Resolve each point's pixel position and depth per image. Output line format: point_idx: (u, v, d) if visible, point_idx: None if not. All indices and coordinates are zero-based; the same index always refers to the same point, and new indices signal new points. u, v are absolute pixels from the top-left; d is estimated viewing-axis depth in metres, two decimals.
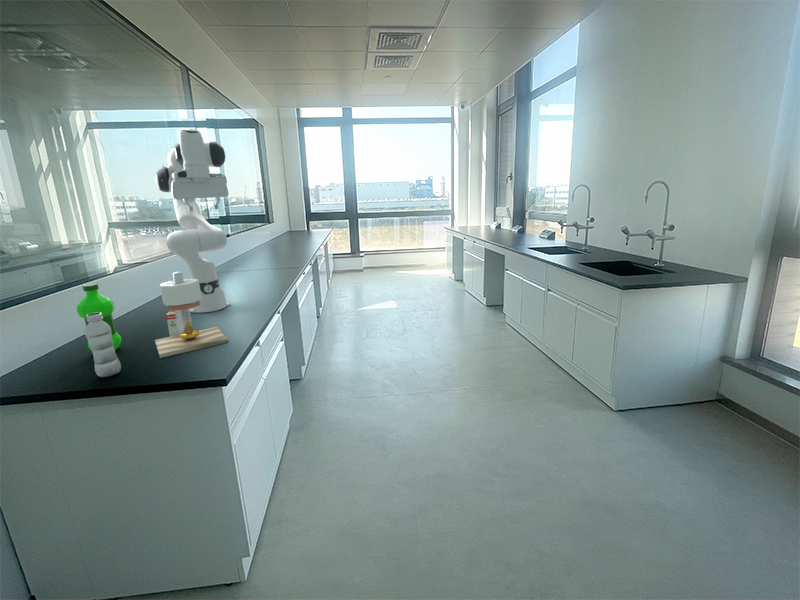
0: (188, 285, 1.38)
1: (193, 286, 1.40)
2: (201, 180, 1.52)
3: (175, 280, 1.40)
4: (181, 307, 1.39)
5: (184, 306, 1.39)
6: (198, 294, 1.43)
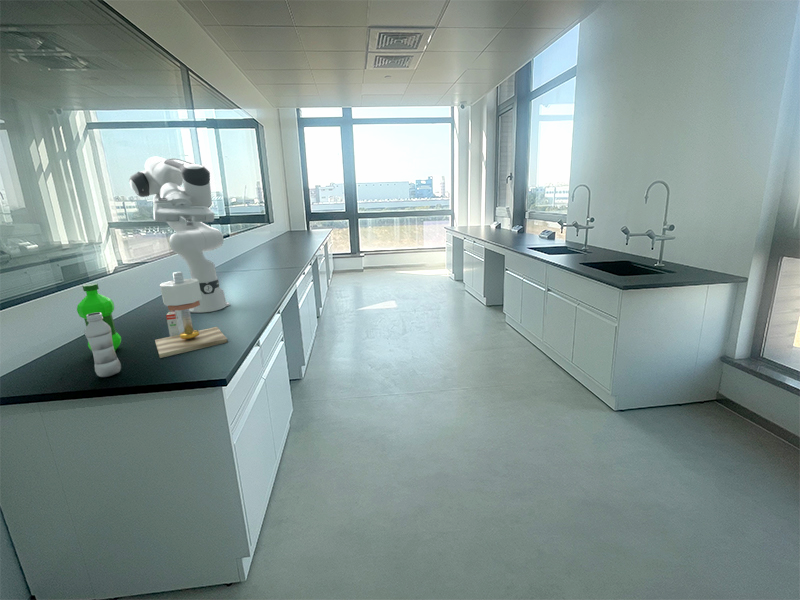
0: (188, 285, 1.38)
1: (193, 286, 1.40)
2: (183, 202, 1.48)
3: (175, 280, 1.40)
4: (181, 307, 1.39)
5: (184, 306, 1.39)
6: (198, 294, 1.43)
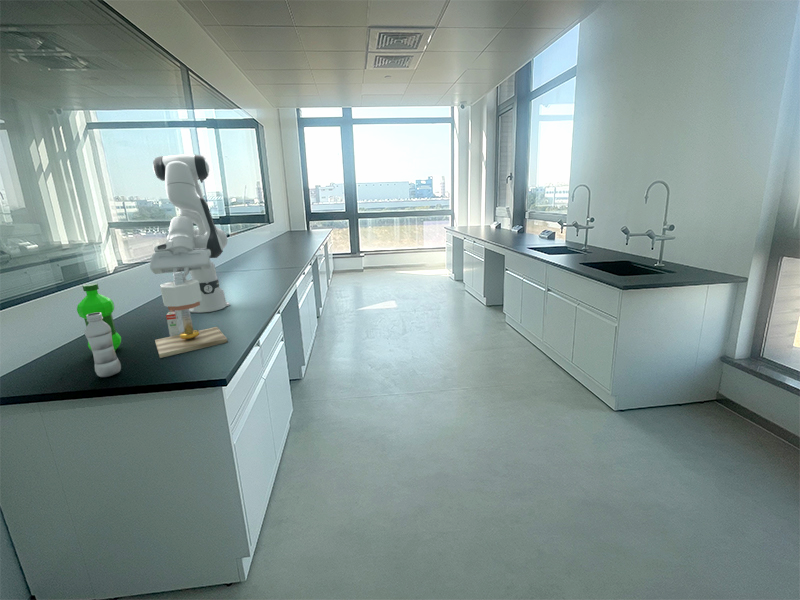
0: (188, 286, 1.38)
1: (193, 287, 1.40)
2: (180, 250, 1.48)
3: (175, 280, 1.40)
4: (181, 307, 1.39)
5: (184, 306, 1.39)
6: (198, 295, 1.43)
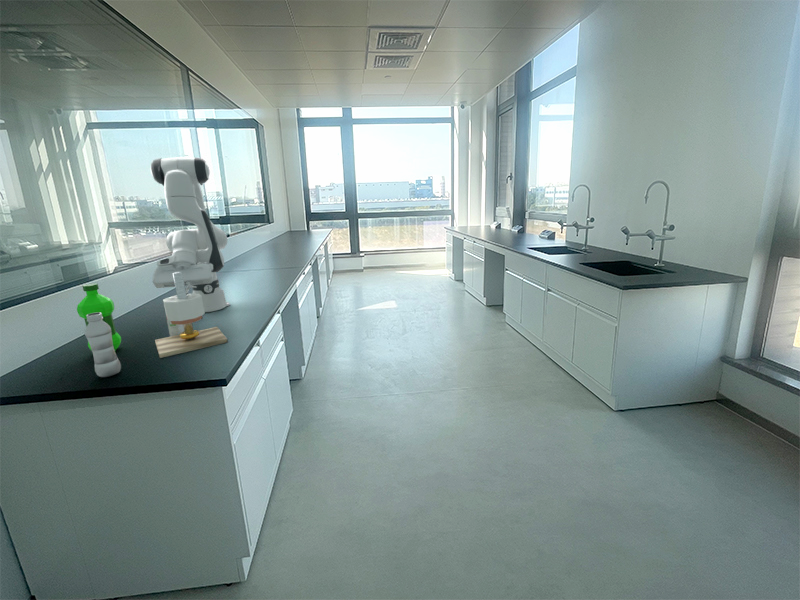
0: (191, 301, 1.40)
1: (196, 301, 1.42)
2: (183, 264, 1.49)
3: (175, 280, 1.40)
4: (184, 321, 1.40)
5: (187, 320, 1.41)
6: (201, 309, 1.44)
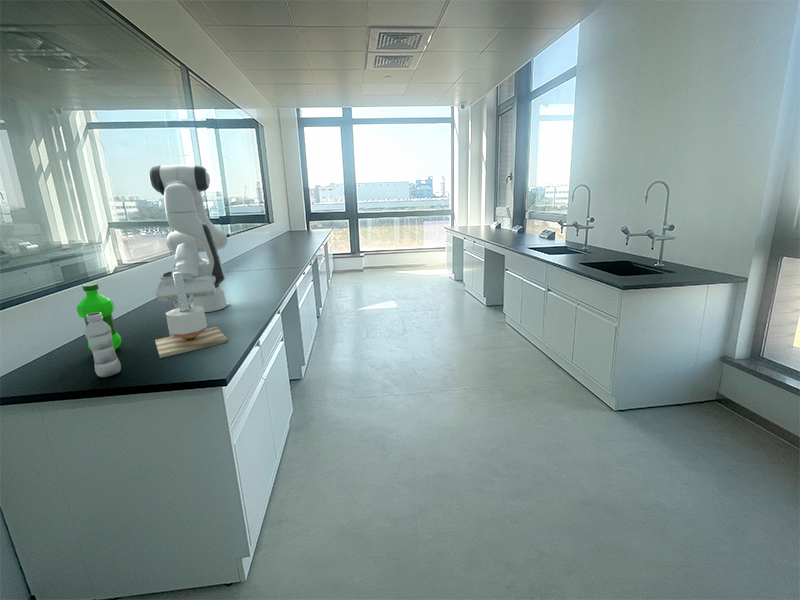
0: (194, 314, 1.41)
1: (198, 315, 1.43)
2: (186, 277, 1.51)
3: (175, 280, 1.40)
4: (186, 334, 1.42)
5: (189, 333, 1.42)
6: (203, 322, 1.46)
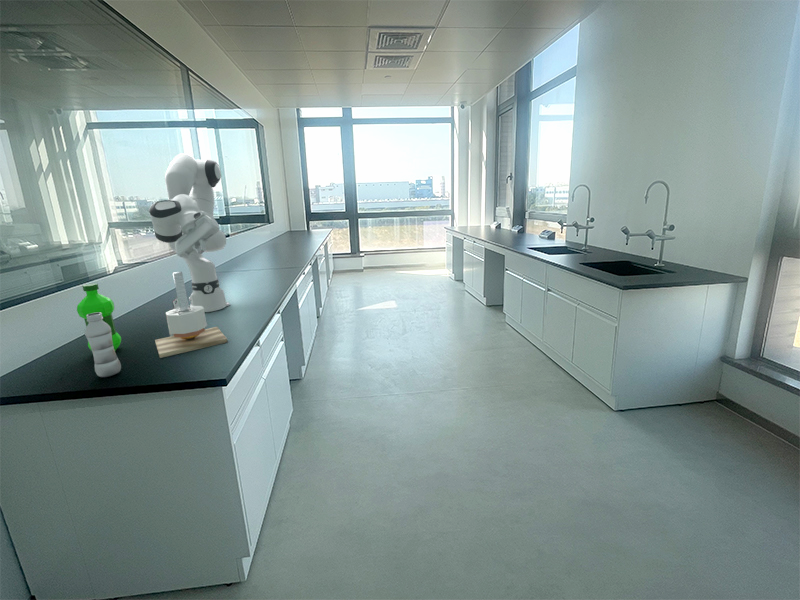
0: (194, 314, 1.41)
1: (198, 314, 1.43)
2: None
3: (175, 280, 1.40)
4: (186, 334, 1.42)
5: (189, 333, 1.42)
6: (203, 322, 1.46)
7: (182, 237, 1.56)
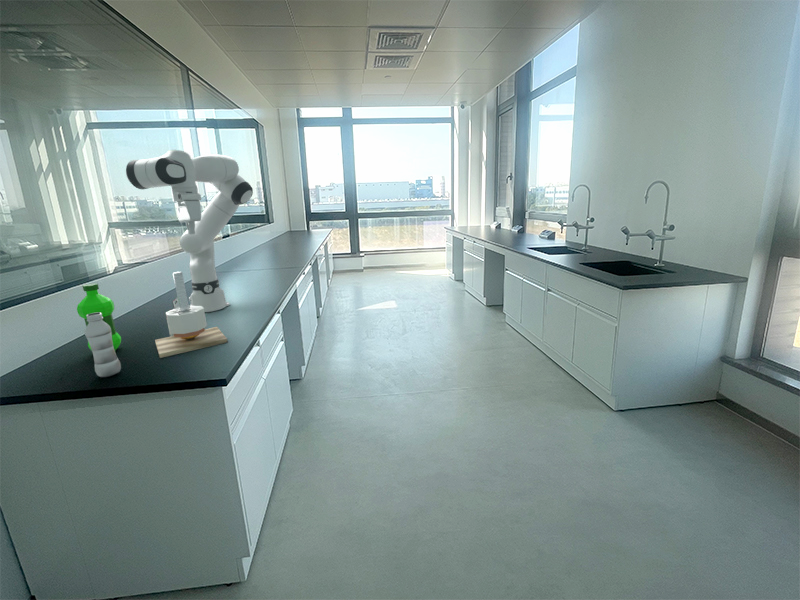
0: (194, 314, 1.41)
1: (198, 314, 1.43)
2: None
3: (175, 280, 1.40)
4: (186, 334, 1.42)
5: (189, 333, 1.42)
6: (203, 322, 1.46)
7: (179, 205, 1.50)
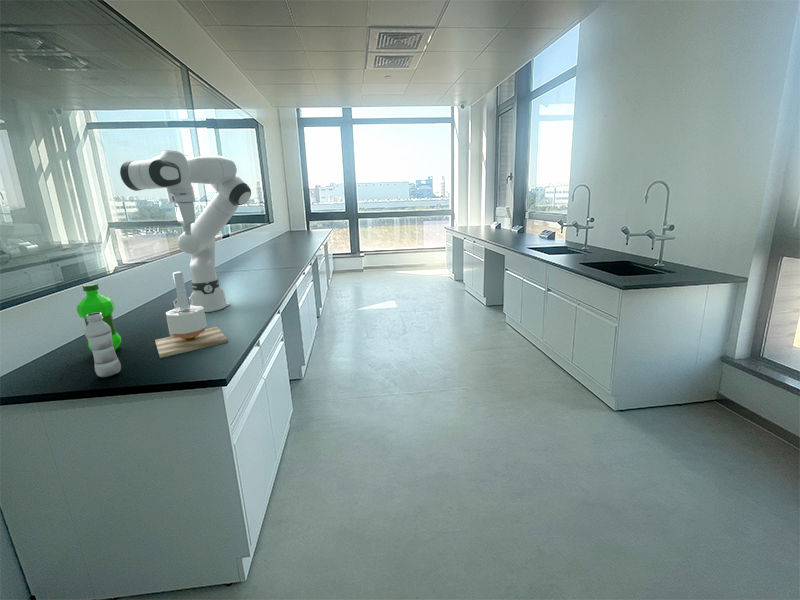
0: (194, 314, 1.41)
1: (198, 314, 1.43)
2: None
3: (175, 280, 1.40)
4: (186, 334, 1.42)
5: (189, 333, 1.42)
6: (203, 322, 1.46)
7: (176, 206, 1.49)
